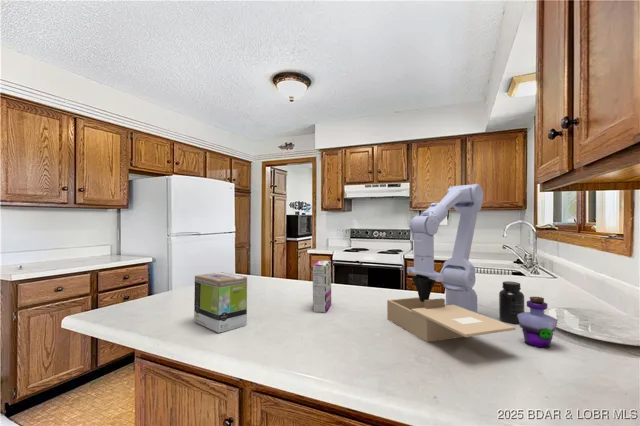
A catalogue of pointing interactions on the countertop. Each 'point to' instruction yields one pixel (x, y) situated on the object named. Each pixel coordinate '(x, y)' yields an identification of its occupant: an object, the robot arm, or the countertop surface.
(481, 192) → the robot arm
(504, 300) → the supplement bottle
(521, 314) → the potion bottle
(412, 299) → the mailer box
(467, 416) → the countertop surface
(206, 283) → the tea box
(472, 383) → the countertop surface
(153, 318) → the countertop surface
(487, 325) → the mailer lid
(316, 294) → the candy bar box
